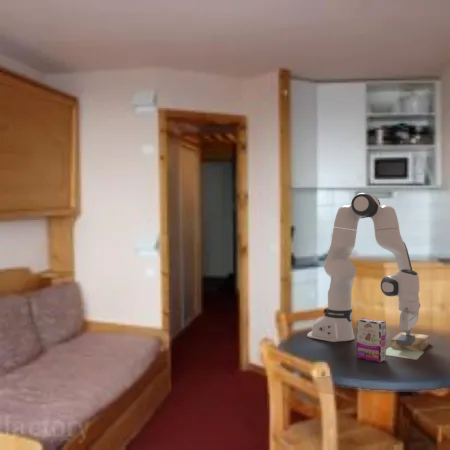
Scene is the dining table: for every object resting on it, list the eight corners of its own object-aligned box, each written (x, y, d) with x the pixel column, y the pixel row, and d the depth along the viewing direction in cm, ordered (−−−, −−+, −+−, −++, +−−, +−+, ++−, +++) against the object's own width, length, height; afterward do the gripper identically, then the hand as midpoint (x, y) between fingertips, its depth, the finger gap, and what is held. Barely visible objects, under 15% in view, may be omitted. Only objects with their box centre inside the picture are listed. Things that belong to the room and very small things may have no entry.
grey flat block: (396, 344, 240) (396, 339, 239) (401, 338, 247) (401, 334, 247) (410, 346, 237) (410, 341, 236) (415, 340, 244) (415, 335, 244)
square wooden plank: (391, 348, 247) (391, 339, 247) (400, 340, 261) (400, 332, 260) (421, 352, 240) (421, 343, 240) (429, 344, 254) (429, 335, 254)
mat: (380, 354, 236) (380, 354, 236) (389, 347, 247) (389, 347, 247) (416, 359, 229) (416, 359, 229) (423, 352, 240) (423, 351, 240)
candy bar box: (386, 360, 228) (386, 321, 227) (380, 363, 224) (380, 323, 224) (362, 355, 236) (362, 317, 235) (356, 357, 232) (356, 319, 231)
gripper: (410, 310, 236) (410, 343, 236) (421, 303, 253) (420, 333, 254) (395, 309, 239) (395, 341, 240) (406, 302, 257) (406, 331, 257)
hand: (408, 337), depth 247 cm, fingers closed
